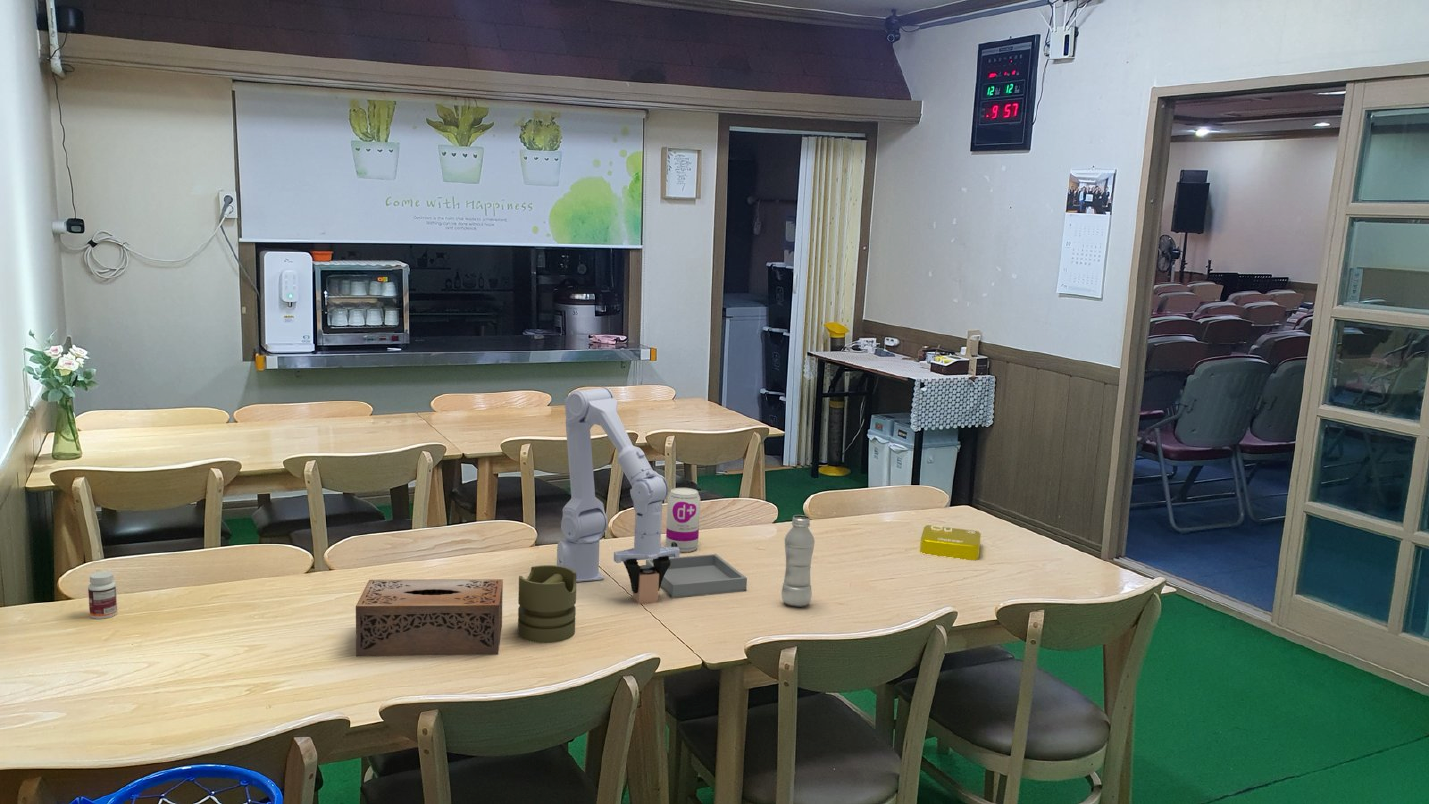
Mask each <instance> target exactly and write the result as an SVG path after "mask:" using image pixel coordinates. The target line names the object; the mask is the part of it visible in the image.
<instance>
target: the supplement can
mask: <svg viewBox="0 0 1429 804" xmlns="http://www.w3.org/2000/svg"><path fill="white" fill-rule="evenodd" d="M700 512H701V496H700V494H699V490H697V489H694V488H689V487H676V488H672V489H670V492H668V495H667V510H666V533H665V534H666V536H665V547H677V548H678V549H680V553H690V552H694V551H695V550H696V549H697V548H698V547H699V533H700V531H699V530H700V518H701V517H700V515H701V513H700Z"/></svg>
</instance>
